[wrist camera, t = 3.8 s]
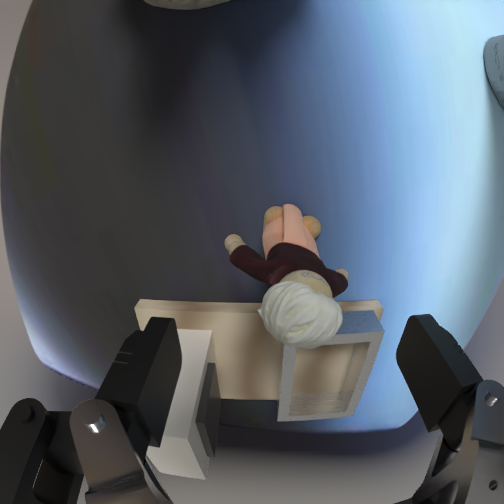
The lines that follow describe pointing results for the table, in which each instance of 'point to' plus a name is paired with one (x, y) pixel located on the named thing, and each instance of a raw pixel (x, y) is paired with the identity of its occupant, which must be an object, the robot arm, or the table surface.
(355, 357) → the slot walls
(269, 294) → the grandmother figurine
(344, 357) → the cream base plate
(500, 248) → the table surface
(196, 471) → the white box with panel
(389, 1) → the table surface
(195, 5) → the beige jagged towered block
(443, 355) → the robot arm
